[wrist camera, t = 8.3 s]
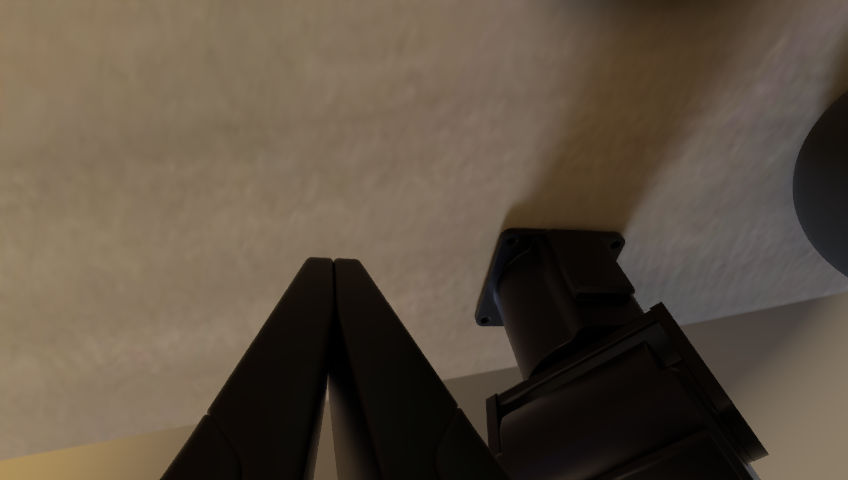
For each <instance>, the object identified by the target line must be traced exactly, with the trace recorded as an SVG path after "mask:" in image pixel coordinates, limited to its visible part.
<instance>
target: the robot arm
mask: <svg viewBox="0 0 848 480" xmlns="http://www.w3.org/2000/svg"><path fill="white" fill-rule="evenodd" d="M513 237H514V238H513ZM510 238H513V239H512V240H509V241H508V239H510ZM614 241H615V242H614ZM613 242H614V243H613ZM624 244H625V240H624V238H623V237H622V235H621V234H620V233H618V232H601V231H584V230H557V229H551V230H548V229H521V228H510V229H507V230H505V231H503V232H502V233H501V235H500V237H499V241H498V244H497V247H496V250H495V253H494V256H493V259H492V262H491V266H490V269H489V272H488V275H487V278H486V281H485V284H484V287H483V290H482V294H481V297H480V300H479V303H478V306H477V309H476V312H475V320H476V323H477V324H478V325H479V326H504V327H505V330H506V332H507V335H508V338H509V341H510V344H511V346H512V349H513V352H514V355H515V358H516V360H517V363H518V366H519V368H520V372H521V374H522V377H523V380H524V381H522V382H520V383H519V384H517V385H515V386H513V387H511V388H509V389H508V390H506V391H504V392H502V393H501V394H499V395H498V394H495V395H493V396H491V397H489V398H487V399H486V412H487V430H488V445H489V448H488V446H487V445H486V444H485V442H484V441H483V440H482V438H481V437H480V435H479V434H478V433H477V431H476V430H475V429H474V427H473V426H472V424H471V423H470V421H469V420H468V418H467V417H466V415H465V414H464V412H463V411H462V409H460V408H457V407H458V404H457V403H456V401H455V400H454V398H453V397H452V395H451V394H450V393H449V391H448V389H447V388H446V386H445V385H444V384H443V382H442V381H441V379H440V378H439V376H438V375H437V373H436V372H435V370H434V369H433V367H432V366H431V364H430V363H429V362H428V360H427V359H426V357H425V356H424V354H423V353H422V351H421V350H420V348H419V347H418V345H417V344H416V343H415V341H414V340H413V338H412V337H411V335H410V334H409V332H408V331H407V329H406V328H405V327H404V325H403V324H402V322H401V321H400V319H399V318H398V316H397V315H396V313H395V312H394V310H393V309H392V308H391V306H390V305H389V303H388V302H387V300H386V299H385V297H384V296H383V294H382V293H381V291H380V290H379V289H378V287H377V286H376V284H375V283H374V281H373V280H372V278H371V277H370V275H369V274H368V272H367V271H366V270H365V268H364V267H363V265H362V264H361V262H360V261H359V260H357V259H343V258H337V259H335V260H334V262H333V260H332V259H331V258H318V257H310V258H308V259H307V260H306V261H305V263H304V264H303V266H302V267H301V269H300V270H299V272H298V273H297V275H296V276H295V278H294V279H293V281H292V282H291V284H290V285H289V287H288V289H287V290H286V292H285V293H284V295H283V296H282V298H281V299H280V301H279V302H278V304H277V305H276V307H275V308H274V310H273V311H272V313H271V314H270V316H269V317H268V319H267V321H266V322H265V324H264V325H263V327H262V328H261V330H260V331H259V333H258V334H257V336H256V337H255V339H254V340H253V342H252V343H251V345H250V346H249V348H248V349H247V351H246V353H245V354H244V356H243V357H242V359H241V360H240V362H239V363H238V365H237V366H236V368H235V369H234V371H233V372H232V374H231V375H230V377H229V378H228V380H227V381H226V383H225V385H224V386H223V388H222V389H221V391H220V392H219V394H218V395H217V397H216V398H215V400H214V401H213V403H212V404H211V406H210V407H209V409H208V411H207V414H208V415H204V416H203V418H202V419H201V421H200V422H199V424H198V425H197V427H196V428H195V430H194V431H193V433H192V435H191V436H190V437H189V439H188V440H187V442H186V443H185V445H184V446H183V448H182V449H181V450H180V452H179V453H178V455H177V456H176V457H175V459H174V460H173V462H172V463H171V465H170V466H169V467H168V469H167V470H166V472H165V473H164V474H163V476H162V477H161V478H160V480H313V478H314V471H315V465H316V458H317V451H318V445H319V439H320V432H321V425H322V418H323V412H324V406H325V399H326V391H327V382H328V391H329V403H330V412H331V421H332V431H333V440H334V449H335V459H336V468H337V477H338V480H760V478H759V477H758V475H757V474H756V472H755V471H754V470H753V468H752V466H751V465H750V464H749V463H750V462H752V461H755V460H758V459H760V458H762V457H765V456H767V455H769V454H768V452H767V451H766V450H765V448H764V447H763V445H762V444H761V442H760V441H759V440H758V438H757V437H756V435H755V434H754V432H753V431H752V430H751V428H750V427H749V425H748V424H747V422H746V421H745V420H744V418H743V417H742V415H741V414H740V413H739V411H738V410H737V409H736V407H735V405H734V404H733V403H732V401H731V400H730V398H729V397H728V395H727V394H726V393H725V391H724V390H723V388H722V387H721V386H720V384H719V383H718V381H717V380H716V378H715V377H714V375H713V374H712V373H711V371H710V370H709V368H708V367H707V366H706V364H705V363H704V361H703V360H702V358H701V357H700V356H699V354H698V353H697V351H696V350H695V348H694V347H693V346H692V344H691V343H690V341H689V340H688V339H687V337H686V336H685V334H684V333H683V331H682V330H681V329H680V327H679V326H678V324H677V323H676V321H675V320H674V319H673V317H672V316H671V314H670V313H669V312H668V310H667V309H666V307H665V306H664V304H663V303H662V302H660V303H658V304H656V305H655V306H653V307H651V308H650V311H649V312H647V313H644V312H643V310H642V309H641V307H640V306H639V304H638V302H637V301H636V299H635V298H634V296H633V294H634V292H635V289H634V287H633V286H632V284H631V283H630V281H629V280H628V278H627V277H626V275H625V274H624V272H623V271H622V269H621V268H620V266H619V265H618V263H617V262H616V260H617V258H618V256H619V254H620V252H621V250H622V248H623V247H624ZM483 317H484V318H483Z"/></svg>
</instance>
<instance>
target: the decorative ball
mask: <svg viewBox="0 0 848 480" xmlns="http://www.w3.org/2000/svg"><path fill="white" fill-rule="evenodd" d="M793 199H794V205H795V210H796V213H797V216H798V219H799V222H800V224H801V226H802V229H803V230H804V232H805V234H806V236H807V238H808V239H809V241H810V242H811V243H812V245H813V246H814V248H815V249H816V250H817V251H818V252H819V253H820V255H821V256H822V257H823V258H824V259H825V260H826V261H828V262H829V263H830V264H831V265H832V266H833V267H834V268H836V269H837V270H838V271H840V272H841V273H842V274H844V275H845V276H847V277H848V91H847V92H846V93H845V94H843V95H842V96H841V97H840V98H839V99H837V100H836V101H835V102H834V103H833V104H832V105H831V106H830V107H829V108H828V109H827V110H826V111H825V112H824V113H823V115H822V116H821V117H820V118H819V120H818V121H817V122H816V123H815V125H814V126H813V128H812V129H811V131H810V132H809V134H808V136H807V138H806V139H805V141H804V143H803V145H802V147H801V150H800V152H799V155H798V158H797V161H796V165H795V170H794V176H793Z"/></svg>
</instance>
